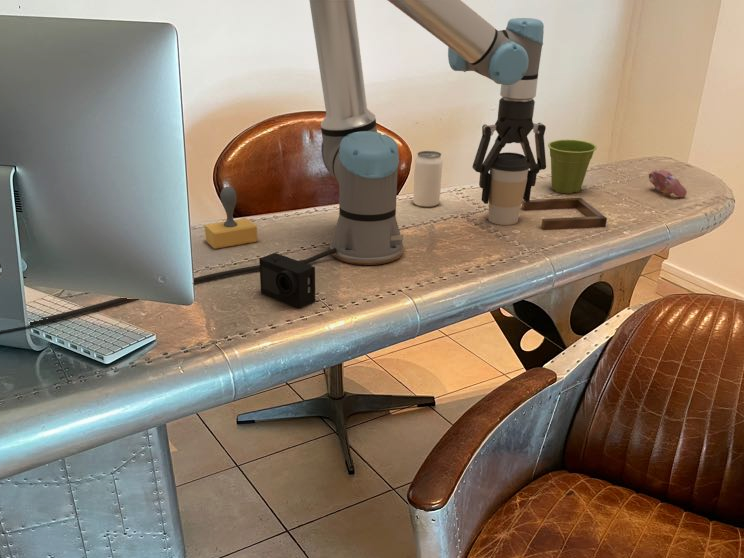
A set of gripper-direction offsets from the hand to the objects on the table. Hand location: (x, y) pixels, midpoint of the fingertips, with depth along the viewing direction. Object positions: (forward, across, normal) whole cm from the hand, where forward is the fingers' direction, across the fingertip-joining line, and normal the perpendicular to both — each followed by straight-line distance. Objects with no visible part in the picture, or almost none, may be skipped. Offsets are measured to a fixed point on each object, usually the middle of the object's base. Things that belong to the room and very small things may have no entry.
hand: (505, 200), depth 186 cm
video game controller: (+5, -47, -14) cm, 49 cm away
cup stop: (+4, -14, 0) cm, 15 cm away
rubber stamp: (+5, +63, +6) cm, 63 cm away
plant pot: (+5, -23, -20) cm, 31 cm away
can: (+5, +15, -14) cm, 21 cm away
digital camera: (+5, +54, +37) cm, 66 cm away
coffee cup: (+5, 0, 0) cm, 5 cm away
